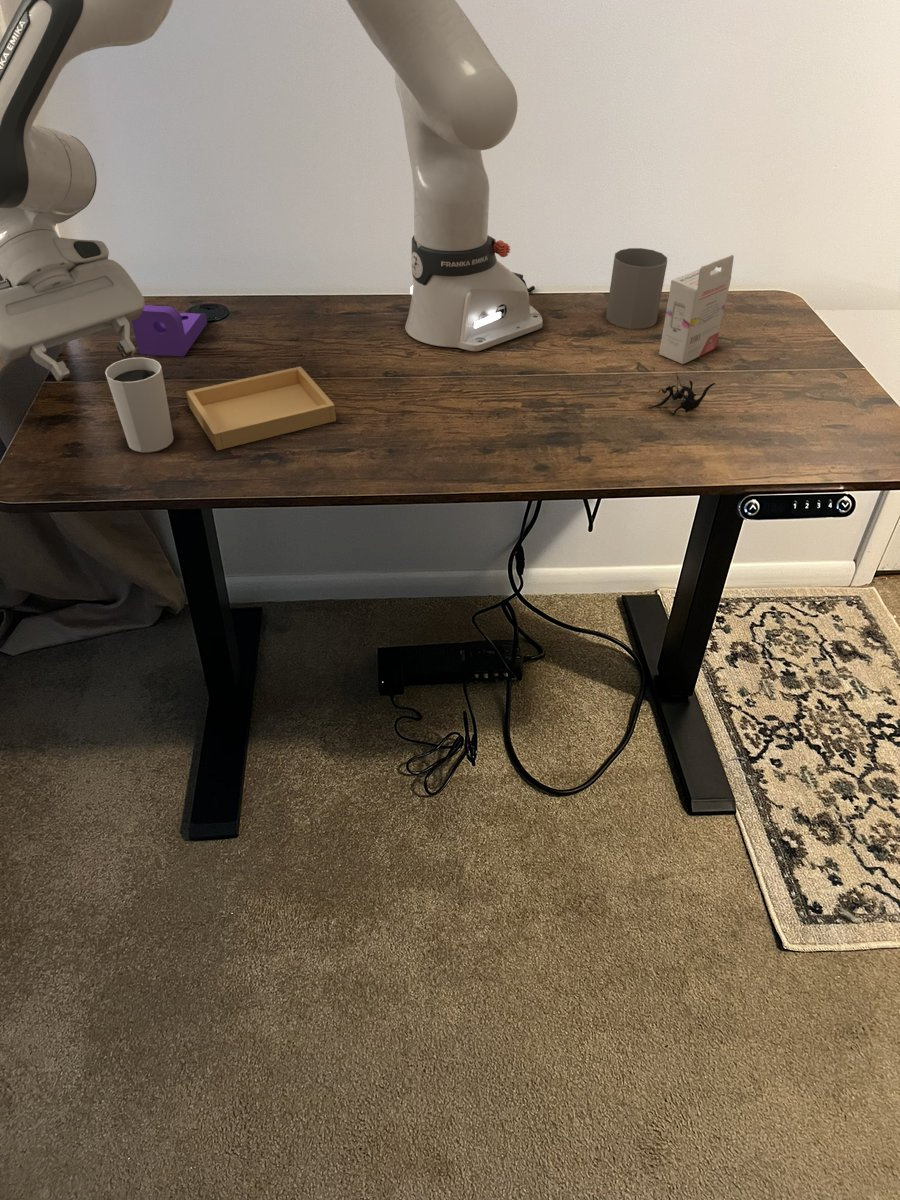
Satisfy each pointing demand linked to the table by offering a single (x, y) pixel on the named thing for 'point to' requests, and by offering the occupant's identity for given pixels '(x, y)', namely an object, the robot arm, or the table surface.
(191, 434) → the table surface
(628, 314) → the cup
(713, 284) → the ink cartridge box
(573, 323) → the table surface
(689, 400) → the creature
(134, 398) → the white tumbler
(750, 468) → the table surface
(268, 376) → the tray
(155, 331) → the bracket
